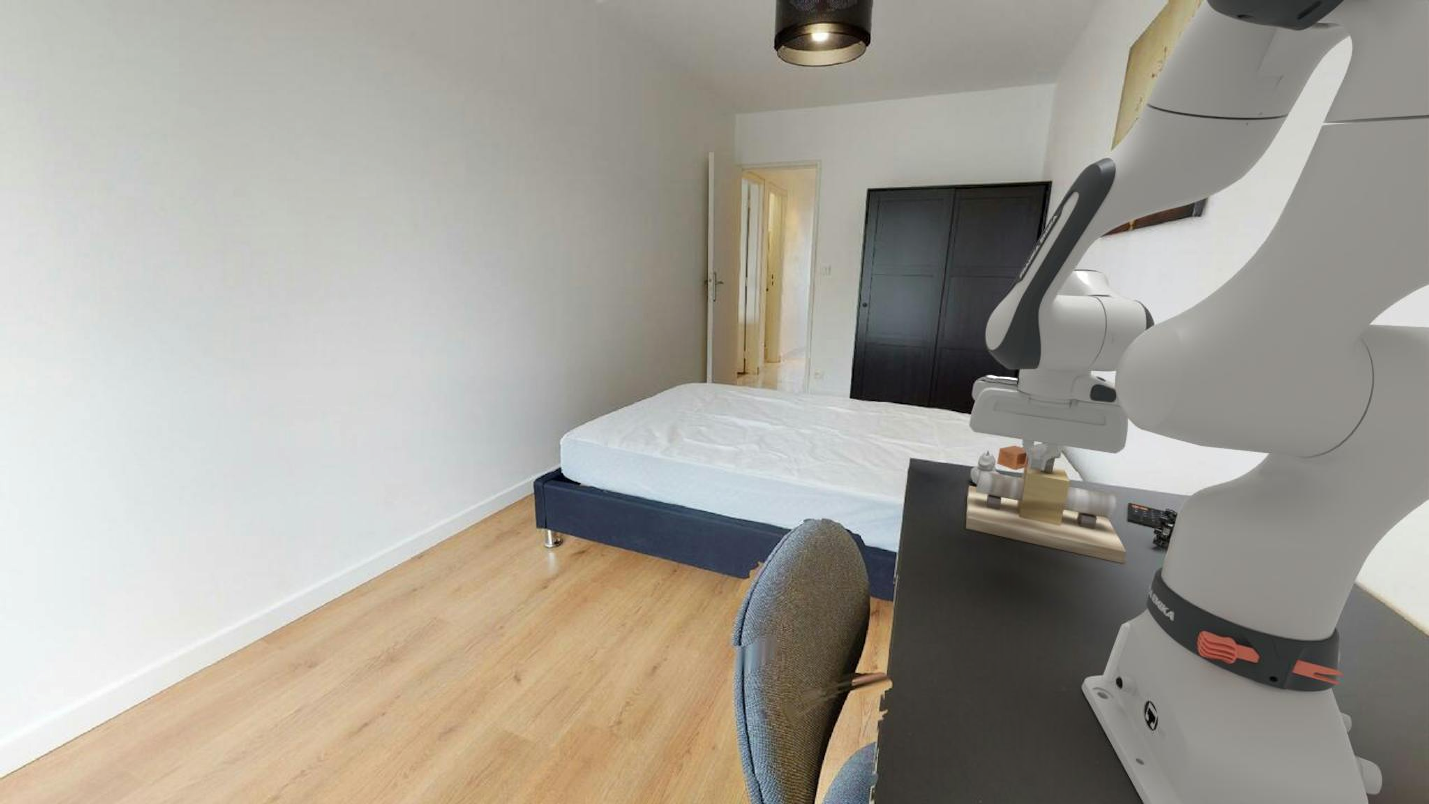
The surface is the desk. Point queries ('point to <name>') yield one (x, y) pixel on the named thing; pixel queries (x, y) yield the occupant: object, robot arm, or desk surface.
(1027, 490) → the valve stand
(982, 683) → the desk surface
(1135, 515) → the calculator
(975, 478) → the white meringue swirl
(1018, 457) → the valve lever
